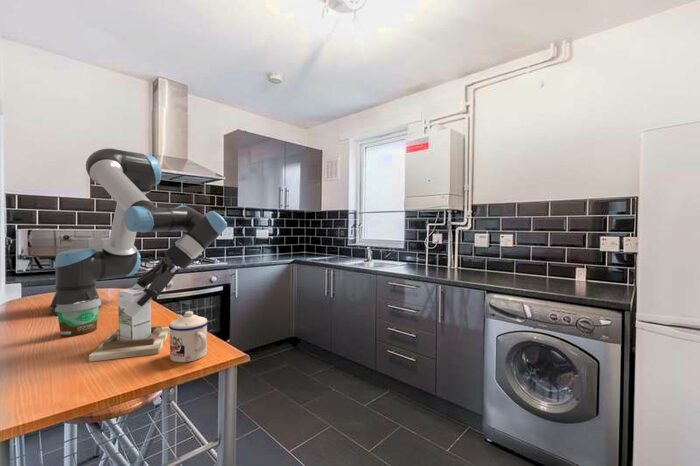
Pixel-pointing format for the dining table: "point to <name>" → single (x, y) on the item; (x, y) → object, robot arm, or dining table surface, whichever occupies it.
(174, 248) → the robot arm
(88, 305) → the food container
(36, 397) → the dining table surface
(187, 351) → the teacup with lid
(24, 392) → the dining table surface
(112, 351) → the beige square tray
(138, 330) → the syrup box
